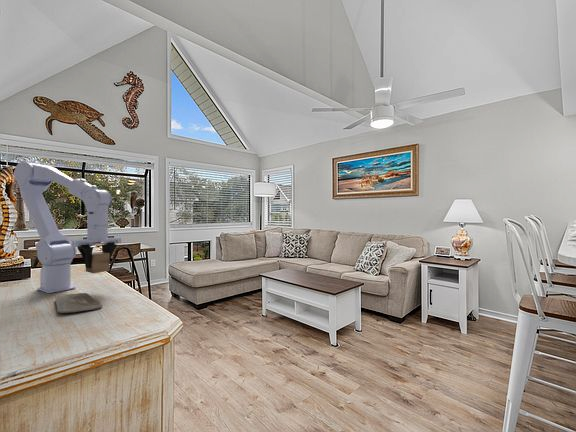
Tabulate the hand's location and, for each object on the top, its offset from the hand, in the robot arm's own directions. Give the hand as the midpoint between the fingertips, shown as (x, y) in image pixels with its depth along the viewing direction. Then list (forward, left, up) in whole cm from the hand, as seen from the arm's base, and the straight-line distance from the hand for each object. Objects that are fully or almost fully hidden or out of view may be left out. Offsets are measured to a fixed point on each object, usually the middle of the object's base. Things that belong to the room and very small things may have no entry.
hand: (97, 266), depth 100 cm
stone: (+10, -11, -9) cm, 17 cm away
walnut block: (0, 0, -2) cm, 2 cm away
